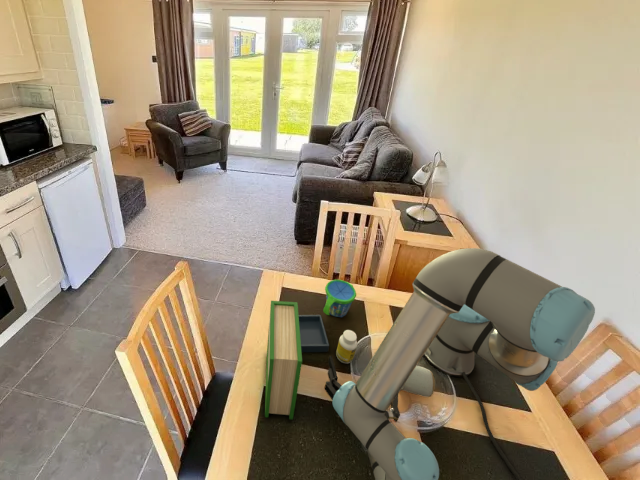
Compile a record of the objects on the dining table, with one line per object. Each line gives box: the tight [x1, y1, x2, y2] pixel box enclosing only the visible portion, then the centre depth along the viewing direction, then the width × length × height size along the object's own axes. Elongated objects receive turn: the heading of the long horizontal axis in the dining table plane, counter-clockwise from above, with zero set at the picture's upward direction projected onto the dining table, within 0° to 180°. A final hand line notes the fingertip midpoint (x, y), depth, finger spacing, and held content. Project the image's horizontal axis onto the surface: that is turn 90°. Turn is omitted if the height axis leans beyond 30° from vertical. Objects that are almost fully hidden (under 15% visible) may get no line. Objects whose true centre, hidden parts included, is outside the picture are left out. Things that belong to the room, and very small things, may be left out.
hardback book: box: [264, 300, 303, 420], centre depth 86 cm, size 18×7×24 cm, turn 177°
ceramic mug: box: [400, 365, 436, 398], centre depth 92 cm, size 11×8×8 cm
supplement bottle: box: [335, 329, 358, 364], centre depth 98 cm, size 5×5×10 cm
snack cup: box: [322, 279, 357, 318], centre depth 114 cm, size 16×10×10 cm
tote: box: [298, 314, 330, 353], centre depth 106 cm, size 12×12×3 cm
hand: (352, 358), depth 93 cm, fingers open, 13 cm apart
